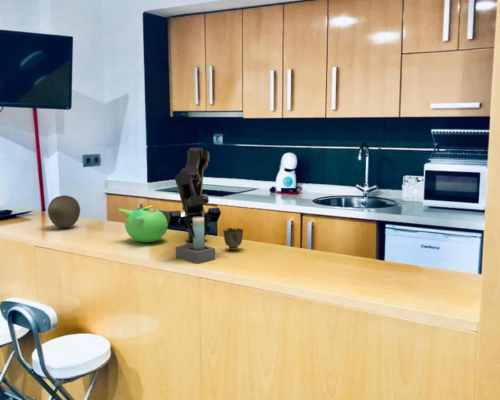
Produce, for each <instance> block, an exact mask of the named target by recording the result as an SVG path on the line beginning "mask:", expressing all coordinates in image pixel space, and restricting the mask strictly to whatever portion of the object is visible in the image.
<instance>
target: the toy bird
mask: <svg viewBox="0 0 500 400" xmlns="http://www.w3.org/2000/svg"><path fill="white" fill-rule="evenodd" d="M153 207H154V204H152V205H147V206H144V207H139V208H136V209H135V210H131V209H125V208H118V209H117V211H118V212H119V213H121V214H122V215H124V216H126V218H125V221H124V226H125V227H124V228H125V231H126V233H127V234H128V236H129V237H131V239H133V240H135V241H137V242H139V243H153V242H156V241H158V240H160V239H162V238H163V237H164V236H165V235H166V233H167V231H168V227H169V226H168V224H167V218H166V216H165V215H164V213H163V212H162V211H160V210H158V209H156V208H153Z"/></svg>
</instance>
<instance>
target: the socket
mask: <svg viewBox="0 0 500 400" xmlns="http://www.w3.org/2000/svg"><path fill="white" fill-rule="evenodd" d="M175 258H176V259H179V260H182V261H187V262H190V263H194V264H196V265H197V264H203V263H205V262H206V263H207V262H209V261H215V260H216V248H215V247H211V246H206V245H205V250H201V251H195V250H193V243H191V242H189V243H187V244H186V243H185V244H183V245H182V244H181V245H179V246H175Z"/></svg>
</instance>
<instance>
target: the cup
mask: <svg viewBox="0 0 500 400" xmlns="http://www.w3.org/2000/svg"><path fill="white" fill-rule="evenodd" d="M222 230H223V231H222V232H223V238H224V242H225V245H226V246H227V247H228V250H229V251H230V252H231V251H232V252H235V251H238V250H239V246H241V244H242V242H243V233H244V229H243V228H239V227H237V228H236V227H234V228H232V227H229V228H228V227H227V228H226V229H225V228H223V229H222Z"/></svg>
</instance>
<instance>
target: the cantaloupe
mask: <svg viewBox="0 0 500 400" xmlns="http://www.w3.org/2000/svg"><path fill="white" fill-rule="evenodd" d="M80 214H81V207H80V204H79V201H78V200H77V199H76V198H74V197H73V196H70V195H59V196H56V197H54V198H53V199H52V200H51V201H50V202H49V204H48V207H47V216H48V217H49V219H50V220H49V221H51V223H52V224H53V225H54V226H55V227H57V228H60V229H67V228H70V227H71V226H73V225H75V224H76V223H77V221H79V217H80Z"/></svg>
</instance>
